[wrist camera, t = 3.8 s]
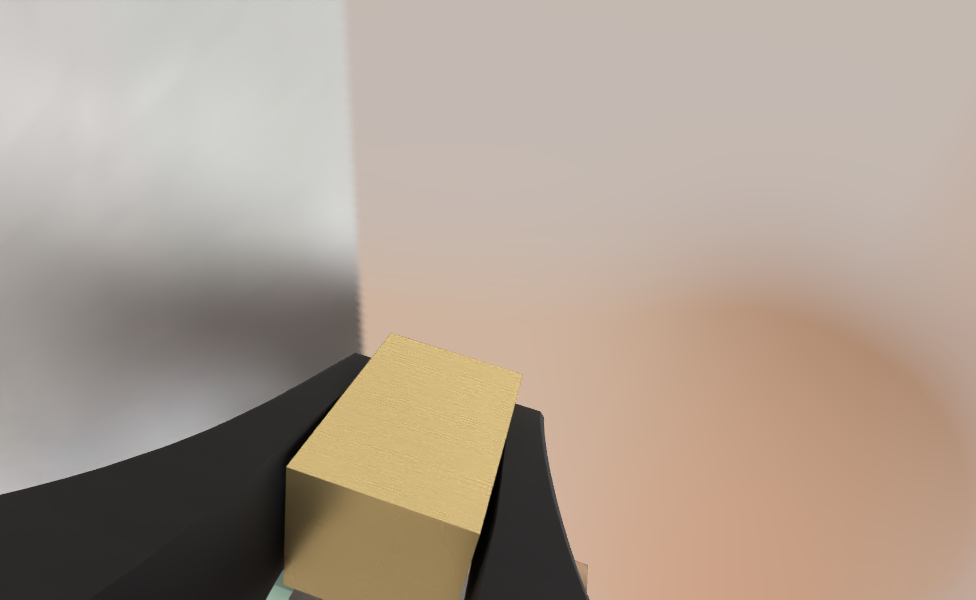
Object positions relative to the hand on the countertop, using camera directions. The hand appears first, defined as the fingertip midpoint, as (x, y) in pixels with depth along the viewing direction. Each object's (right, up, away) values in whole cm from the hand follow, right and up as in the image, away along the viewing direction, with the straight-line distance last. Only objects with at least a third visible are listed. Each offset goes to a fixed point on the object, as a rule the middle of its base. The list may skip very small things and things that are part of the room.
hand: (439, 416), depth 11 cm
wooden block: (-1, -4, +3) cm, 5 cm away
